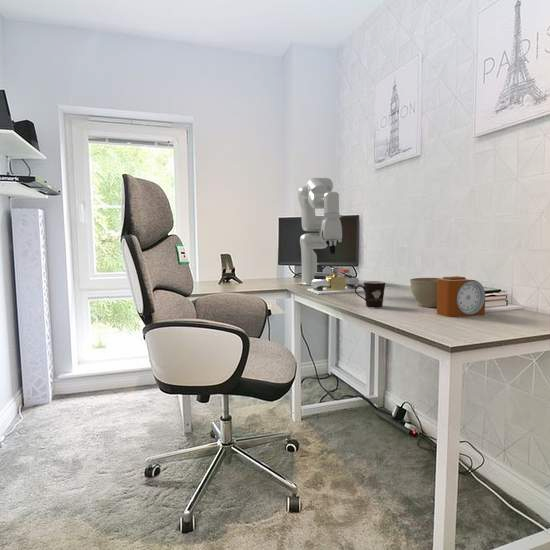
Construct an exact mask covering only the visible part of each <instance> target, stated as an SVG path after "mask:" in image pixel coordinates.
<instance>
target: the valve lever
mask: <svg viewBox="0 0 550 550" xmlns="http://www.w3.org/2000/svg"><path fill="white" fill-rule="evenodd" d="M333 271H337V273H341V274H349V273H350V269H347V268H339V267H331V272H333Z"/></svg>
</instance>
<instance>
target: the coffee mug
mask: <svg viewBox="0 0 550 550" xmlns="http://www.w3.org/2000/svg"><path fill="white" fill-rule="evenodd" d="M360 287H361V289H364V291H365V292H364V297H363V296H362V295H360V294H359V292H356V289H357V288H360ZM385 287H386V281H380V280H367V281H363V285H361V284H358V286H356V287H355V292H354V293H355V294H356V295H357V296H358V297H360V298H361V299H363V300H364V302H365V306H366V307H367V306H368V307H367V308H371V307H380V308H382V307H383V304H384V295H385Z"/></svg>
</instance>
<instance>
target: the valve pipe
mask: <svg viewBox="0 0 550 550" xmlns="http://www.w3.org/2000/svg"><path fill="white" fill-rule="evenodd" d="M359 285H360V280H359V278H358V277H348V278H347V277H346V276H343V275H338V272H337V271H332V275H330V276H326V278H325V279H320V280H312V281H311V285H310V286H311V289H313V290H316V291H323V288H326V289H328V290H345V287H347V288H350V289H355V287H356V286H359Z"/></svg>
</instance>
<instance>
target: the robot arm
mask: <svg viewBox="0 0 550 550" xmlns="http://www.w3.org/2000/svg"><path fill="white" fill-rule="evenodd" d="M333 183H334V182H333V180H332V179H331V178H329V177H312V178H310V179H308V180H307V184H306V185H304V186H301V187H299V188H298V192H297V199H298V202H299V207H300V210H301V211H300V212H301V228H302V230H303V231H305V232H311V233H304V234H302V235H300V237H299V245H300V253H301V255H300V256H301V281H299V282H298V283H299V285H300V284H302V285H303V286H311V281H312V280H315V279H314V275H315V273H316V272H318V256H317V253H316V252H315V251H314V250H316V249H318V250H321V249H326V248H327V247H328V249H327V250H328V251H327V252H328V254H329V255H335V253H336V246H337V244H338V243H342V241H343V240H342V239H343V226H342V222H341V221H342V220H341V218H342V215H341V214H340V194H339V192H337V191H333V187H334V184H333ZM317 209H318V210H319V209H322V210H323V215H316V210H317ZM314 232H316V233H314ZM302 285H301V286H302Z"/></svg>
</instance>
